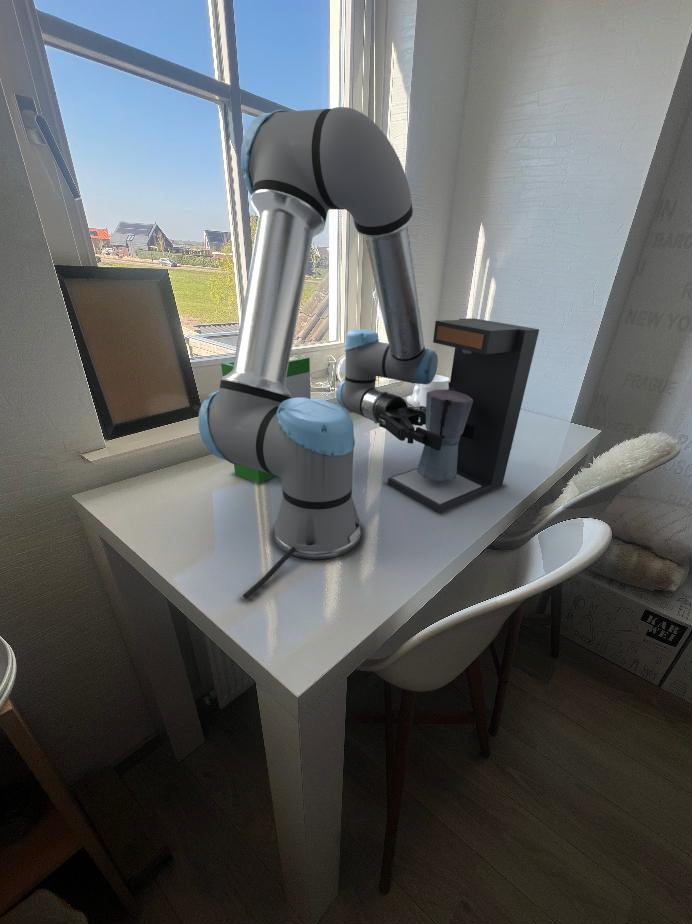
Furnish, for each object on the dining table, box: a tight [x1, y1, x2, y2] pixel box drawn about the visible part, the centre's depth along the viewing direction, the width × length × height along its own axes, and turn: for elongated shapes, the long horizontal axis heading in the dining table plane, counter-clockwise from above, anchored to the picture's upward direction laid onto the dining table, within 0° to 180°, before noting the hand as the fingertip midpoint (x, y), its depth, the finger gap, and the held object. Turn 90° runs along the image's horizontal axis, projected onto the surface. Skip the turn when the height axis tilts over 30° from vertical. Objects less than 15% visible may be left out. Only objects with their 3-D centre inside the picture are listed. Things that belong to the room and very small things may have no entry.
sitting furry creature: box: [405, 383, 420, 409], centre depth 147 cm, size 10×9×12 cm
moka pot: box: [417, 381, 473, 481], centre depth 87 cm, size 10×15×20 cm, turn 170°
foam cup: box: [419, 374, 450, 407], centre depth 135 cm, size 10×9×13 cm
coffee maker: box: [387, 317, 540, 514], centre depth 88 cm, size 22×16×34 cm
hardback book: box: [220, 356, 312, 484], centre depth 93 cm, size 18×7×24 cm, turn 148°
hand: (458, 438), depth 85 cm, fingers closed on moka pot, 10 cm apart
